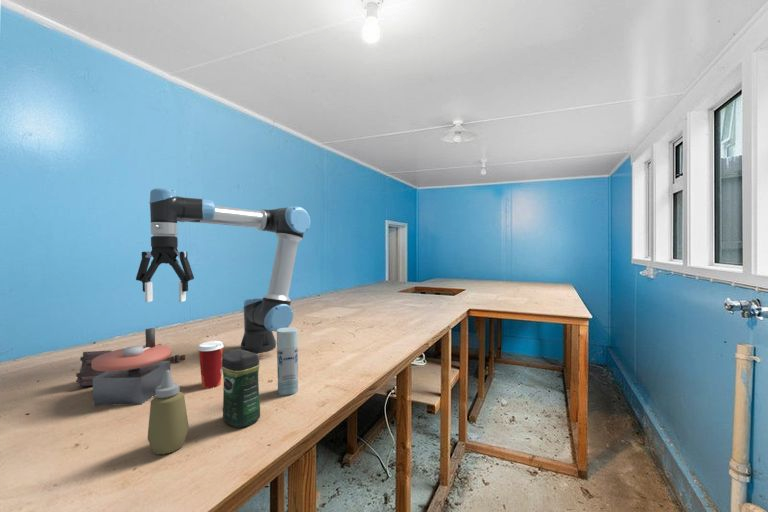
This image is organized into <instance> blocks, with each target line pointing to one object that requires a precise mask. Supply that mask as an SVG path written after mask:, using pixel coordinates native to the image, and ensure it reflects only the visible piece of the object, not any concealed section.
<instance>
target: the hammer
mask: <svg viewBox="0 0 768 512" xmlns="http://www.w3.org/2000/svg"><path fill="white" fill-rule="evenodd" d="M111 351H112V350H111V349H110V350H94V351H93V350H92V351H83V352H82V356H80V359H79V360H80V362H81V367H80V371H79V372H77V373H76V374H75V377H77V378H76V380H75V383H77V384H78V385H79V386H80V387H86V386H87V387H88V386H93V378H94V377H96V376H98V375H100V374H102V373H104V372H105V371H96V370H93V369H92V364H91V361H92V360H93V359H94V358H96V357H97V356H100V355H102V354H105V353H108V352H111ZM184 360H186V355H185V354H181V355H180V354H175V355H171V356H170V357H169V358H167V359H165V360H163V361H170V363H180V361H184Z"/></svg>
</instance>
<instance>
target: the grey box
mask: <svg viewBox="0 0 768 512" xmlns="http://www.w3.org/2000/svg"><path fill="white" fill-rule="evenodd" d="M166 370H170V371H171V362H170V361H161V362H158V363H156V364H152V365H149V366H145V367H141V368H137V369H133V370H123V371H110V372H104V373H102V374H100V375H98V376H96V377H94V378H93V385H92V397H93V398H92V399H93V402H92V404H93V406H103V405H104V406H108V405H109V406H110V405H111V406H112V405H113V406H115V405H117V404H120V405H143V404H144V403H146V402H147V401H149V400H150V399H152V398H153V397H155V396H156V392H155V389H156V388H157V387H158V386H160V385H161V383H162V379H163V374H164V371H166ZM154 395H155V396H154ZM152 396H153V397H152ZM151 397H152V398H151ZM148 399H149V400H148ZM145 401H146V402H145ZM142 403H143V404H142ZM114 404H115V405H114Z"/></svg>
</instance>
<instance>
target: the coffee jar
mask: <svg viewBox="0 0 768 512" xmlns="http://www.w3.org/2000/svg"><path fill="white" fill-rule="evenodd" d="M259 371H260V356H259V354H258V353H252V352H249V351H245V350H241V349H240V348H237V349H236V348H235V349H233V350H228V351H226V352H225V353H224V354H223V355H222V376H223V377H222V378H223V397H222V399H223V400H222V419H223V421H224V422H225V423H226V424H227V425H229V426H232V427H234V428H243V427H247V426H250V425H253V424H254V423H255V422H257V421H258V420H259V419H260V418H261V402H260V391H259V390H260V389H259V373H260V372H259Z"/></svg>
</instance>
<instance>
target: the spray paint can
mask: <svg viewBox="0 0 768 512" xmlns="http://www.w3.org/2000/svg"><path fill="white" fill-rule="evenodd" d="M276 359H277V361H276V367H277V371H276V372H277V394H278V395H280V396H283V397H287V396H292V395H295V394H297V393H298V391H299V329H298V327H295V326H293V327H292V326H289V327H284V328H280V329H278V330H277V332H276Z"/></svg>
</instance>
